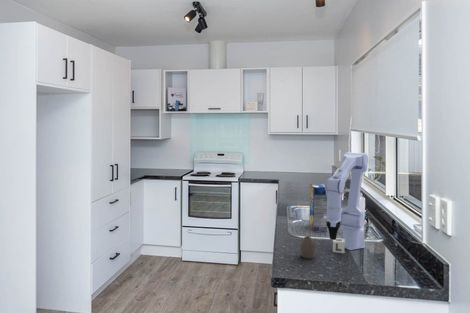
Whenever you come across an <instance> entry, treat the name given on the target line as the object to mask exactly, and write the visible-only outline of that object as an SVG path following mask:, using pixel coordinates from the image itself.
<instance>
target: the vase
mask: <svg viewBox="0 0 470 313" xmlns="http://www.w3.org/2000/svg"><path fill="white" fill-rule="evenodd" d="M298 247H299V254H300V256H301V257H302V258H304V259H312V258H314V257H315V255H316V252H317V247H316V244H315V242H314V241H313V239H312V237H311V236H309V235H307V236H304V238H303V239H302V240H301V242H300V244H299V246H298Z"/></svg>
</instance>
